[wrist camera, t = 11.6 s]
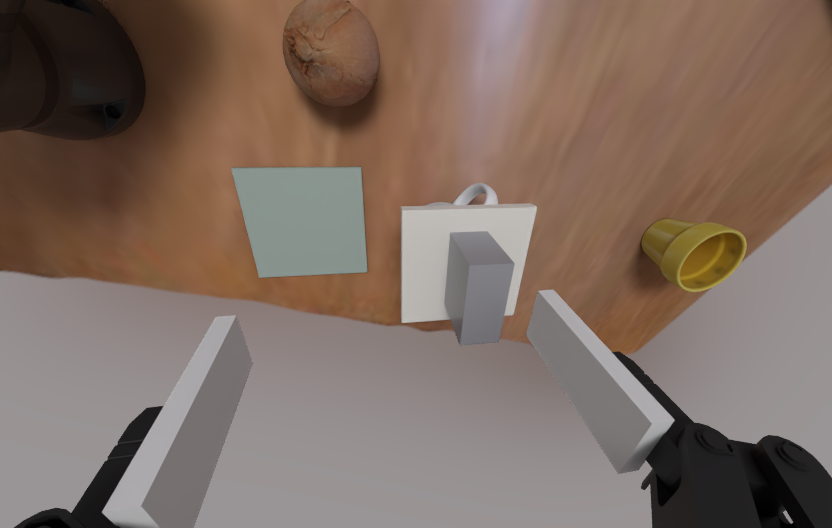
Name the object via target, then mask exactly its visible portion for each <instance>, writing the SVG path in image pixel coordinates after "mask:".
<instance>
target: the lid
mask: <svg viewBox="0 0 832 528" xmlns="http://www.w3.org/2000/svg"><path fill="white" fill-rule="evenodd" d="M536 210H537V207H536V206H535V205H533V204H490V205H446V206H401V321H402V323H408V322H422V321H436V320H451V323H452V325H453V328H454V331H455V334H456V336H457V339H458V342H459V344H460V345H472V344H484V343H496V342H499V339H500V334H501V329H502V324H503V319H504V316H505V315H513V314H514V310H515V305H516V301H517V296H518V291H519V287H520V282H521V278H522V273H523V269H524V264H525V260H526V255H527V251H528V246H529V242H530V237H531V232H532V228H533V223H534V219H535V214H536Z"/></svg>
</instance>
